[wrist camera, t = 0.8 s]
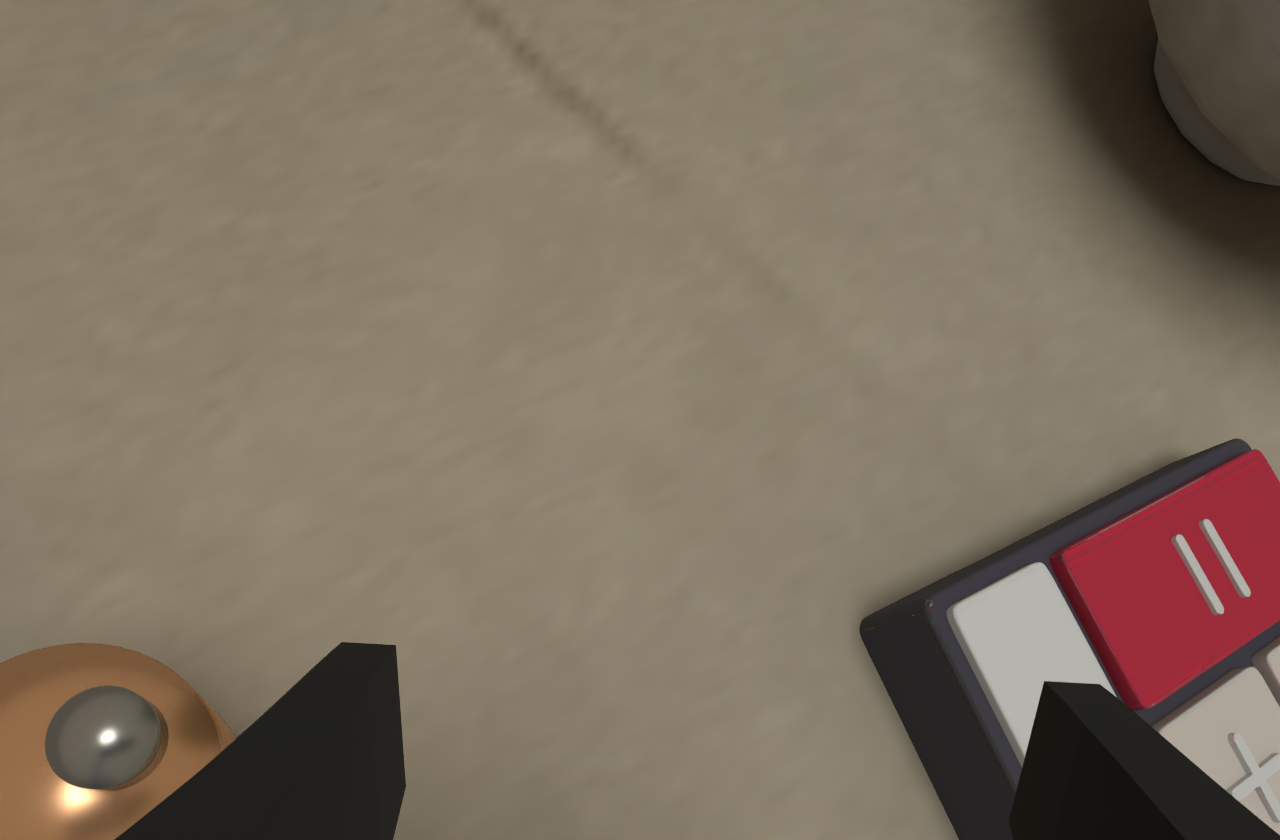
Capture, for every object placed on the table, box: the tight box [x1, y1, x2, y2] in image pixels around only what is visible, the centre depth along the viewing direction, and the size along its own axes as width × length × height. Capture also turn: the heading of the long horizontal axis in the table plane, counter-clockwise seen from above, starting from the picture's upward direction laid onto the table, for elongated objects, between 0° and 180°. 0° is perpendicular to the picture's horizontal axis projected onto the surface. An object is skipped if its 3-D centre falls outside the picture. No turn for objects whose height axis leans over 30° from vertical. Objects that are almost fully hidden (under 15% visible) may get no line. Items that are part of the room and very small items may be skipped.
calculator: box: [860, 439, 1280, 840], centre depth 30 cm, size 11×4×15 cm
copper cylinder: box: [0, 643, 236, 840], centre depth 18 cm, size 4×4×10 cm
